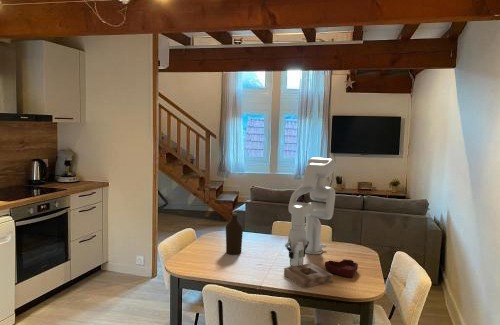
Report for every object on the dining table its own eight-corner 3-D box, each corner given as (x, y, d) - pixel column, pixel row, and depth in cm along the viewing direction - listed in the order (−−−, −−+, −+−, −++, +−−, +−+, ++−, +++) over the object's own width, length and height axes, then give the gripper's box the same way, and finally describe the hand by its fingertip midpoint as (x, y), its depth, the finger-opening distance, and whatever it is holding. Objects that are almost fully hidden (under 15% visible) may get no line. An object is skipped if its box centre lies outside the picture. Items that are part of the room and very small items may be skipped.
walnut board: (311, 270, 217) (311, 263, 216) (332, 282, 201) (332, 274, 201) (284, 275, 209) (284, 267, 208) (303, 288, 193) (303, 280, 192)
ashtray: (336, 280, 204) (336, 271, 203) (322, 269, 219) (322, 260, 219) (366, 277, 209) (366, 268, 208) (350, 266, 224) (350, 258, 224)
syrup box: (295, 262, 227) (295, 238, 226) (303, 264, 224) (304, 240, 222) (289, 265, 223) (290, 240, 221) (298, 267, 219) (299, 242, 218)
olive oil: (232, 256, 236) (232, 215, 233) (221, 251, 244) (222, 212, 241) (245, 253, 242) (246, 213, 240) (235, 248, 251) (236, 210, 248)
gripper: (306, 223, 228) (305, 252, 230) (281, 227, 220) (280, 257, 222) (314, 227, 222) (313, 257, 224) (288, 230, 214) (287, 261, 216)
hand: (296, 257), depth 223 cm, fingers closed on syrup box, 7 cm apart
